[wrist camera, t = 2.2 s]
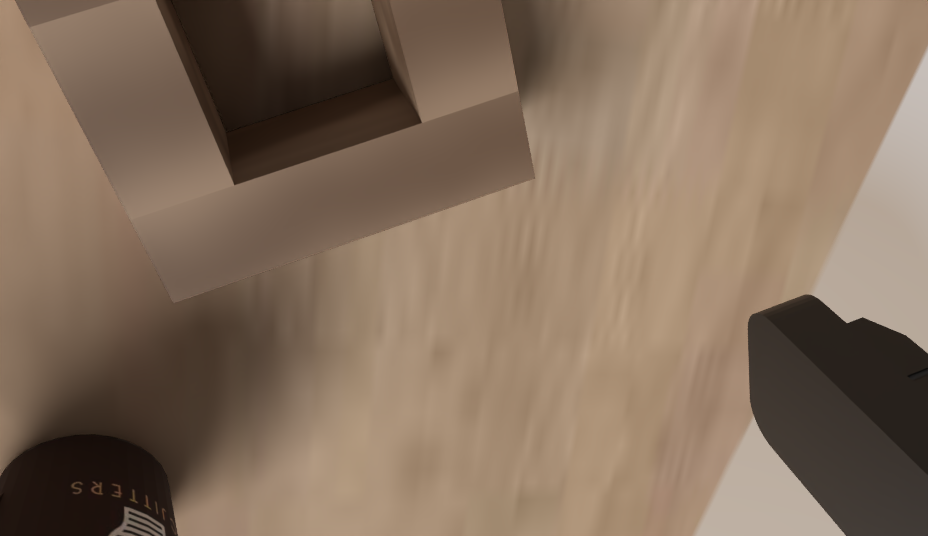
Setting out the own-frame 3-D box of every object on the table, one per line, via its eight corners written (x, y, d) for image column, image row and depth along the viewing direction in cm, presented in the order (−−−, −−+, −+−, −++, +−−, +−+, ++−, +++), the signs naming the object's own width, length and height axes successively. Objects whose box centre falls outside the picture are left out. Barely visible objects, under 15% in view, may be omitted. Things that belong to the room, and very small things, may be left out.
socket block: (-11, -127, 23) (-39, -103, 20) (415, -246, 24) (454, -242, 21) (172, 240, 30) (173, 303, 27) (496, 131, 31) (535, 178, 28)
